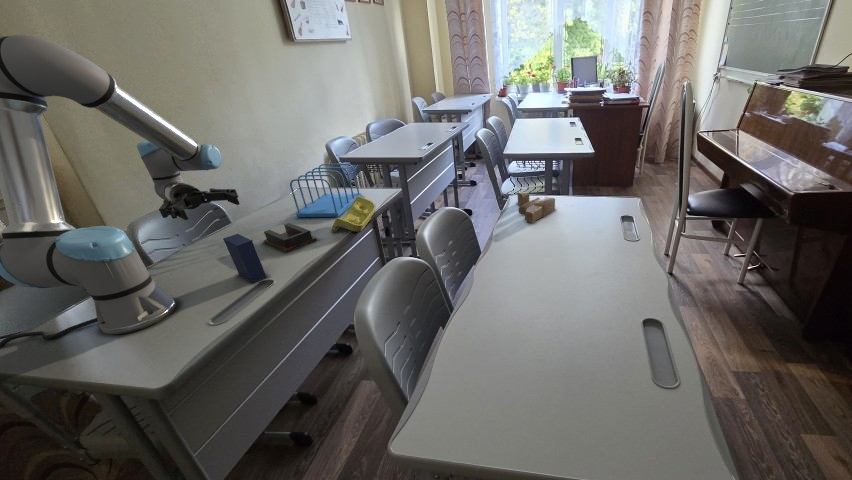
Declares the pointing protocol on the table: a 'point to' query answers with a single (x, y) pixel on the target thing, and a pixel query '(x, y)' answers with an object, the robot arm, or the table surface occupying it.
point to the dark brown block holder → (289, 238)
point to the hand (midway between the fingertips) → (211, 207)
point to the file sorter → (326, 196)
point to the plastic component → (356, 215)
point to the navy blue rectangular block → (245, 257)
